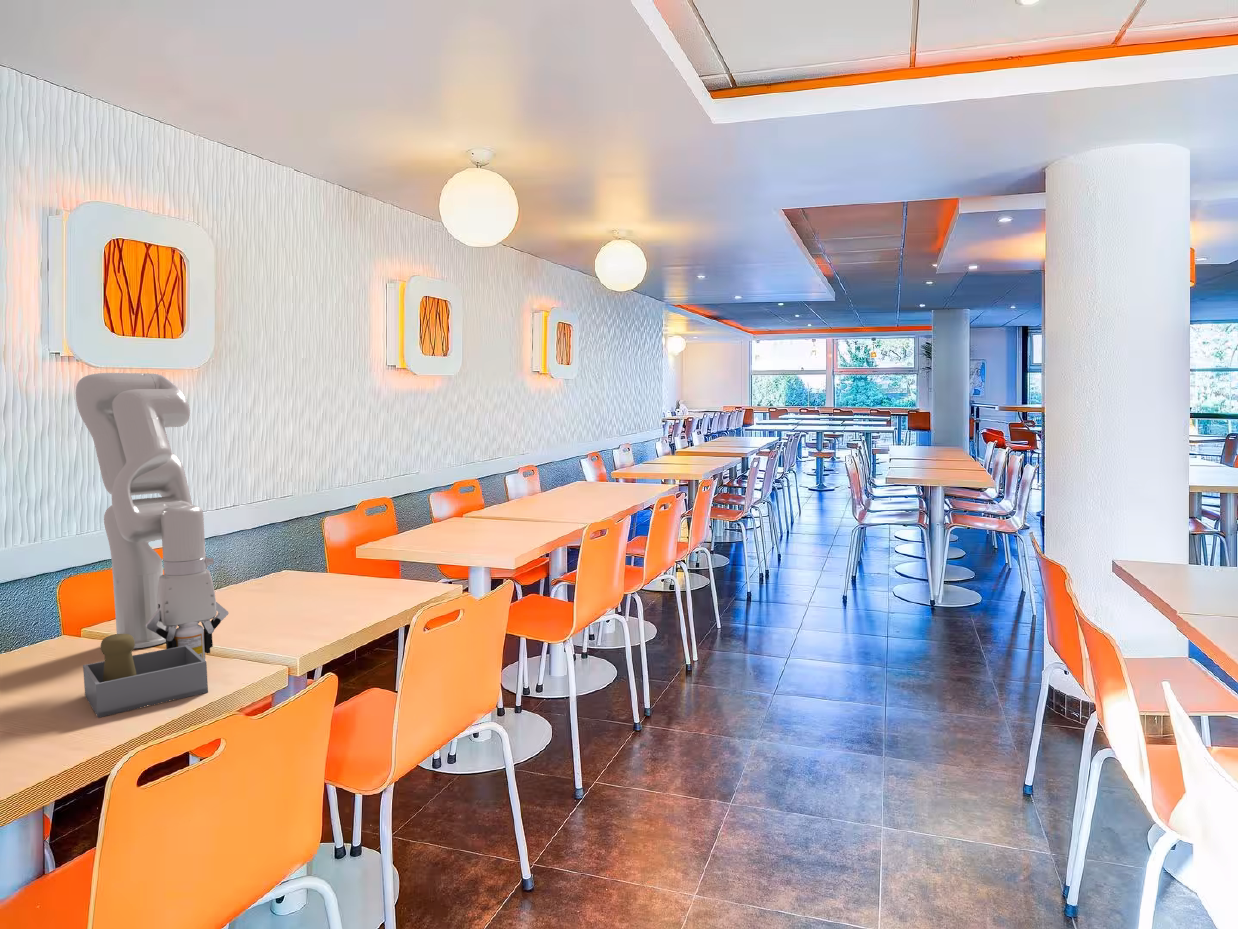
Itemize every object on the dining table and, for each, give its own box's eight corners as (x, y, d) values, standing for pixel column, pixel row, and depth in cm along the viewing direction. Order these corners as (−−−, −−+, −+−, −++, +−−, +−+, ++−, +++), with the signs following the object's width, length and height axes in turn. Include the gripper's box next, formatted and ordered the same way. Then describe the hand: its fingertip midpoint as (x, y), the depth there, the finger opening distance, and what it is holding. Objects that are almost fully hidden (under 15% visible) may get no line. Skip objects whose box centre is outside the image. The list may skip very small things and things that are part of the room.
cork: (92, 700, 143) (88, 639, 142) (120, 688, 148) (116, 629, 147) (122, 702, 141) (118, 641, 140) (148, 690, 147) (144, 631, 146)
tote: (85, 696, 147) (82, 665, 146) (189, 673, 158) (187, 645, 157) (98, 717, 137) (95, 684, 136) (208, 692, 148) (206, 661, 148)
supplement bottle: (183, 660, 166) (180, 613, 166) (210, 659, 167) (207, 613, 166) (170, 669, 161) (167, 621, 160) (198, 667, 162) (196, 620, 161)
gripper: (225, 558, 171) (229, 642, 172) (132, 570, 159) (138, 660, 161) (236, 563, 165) (240, 650, 167) (140, 577, 154) (146, 669, 155)
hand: (190, 654), depth 164 cm, fingers closed on supplement bottle, 5 cm apart
